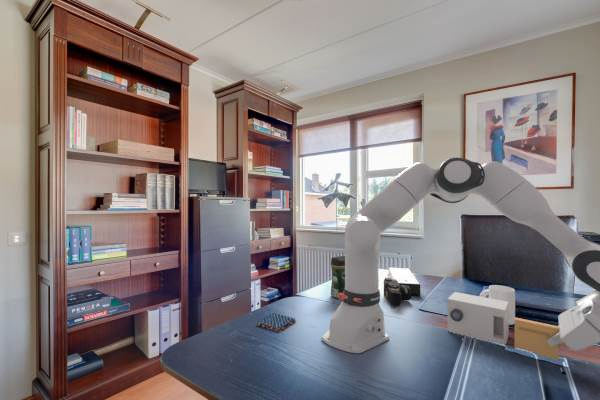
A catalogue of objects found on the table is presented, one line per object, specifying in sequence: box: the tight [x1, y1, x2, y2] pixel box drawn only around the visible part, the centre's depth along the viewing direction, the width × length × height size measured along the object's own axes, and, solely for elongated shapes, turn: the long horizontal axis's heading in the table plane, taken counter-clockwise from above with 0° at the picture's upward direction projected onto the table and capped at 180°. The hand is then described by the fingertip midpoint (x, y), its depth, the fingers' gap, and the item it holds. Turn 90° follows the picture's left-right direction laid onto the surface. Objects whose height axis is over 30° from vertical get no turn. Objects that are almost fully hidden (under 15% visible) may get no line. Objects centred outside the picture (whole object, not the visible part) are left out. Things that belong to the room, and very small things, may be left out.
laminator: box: [387, 267, 421, 297], centre depth 152 cm, size 34×12×6 cm, turn 168°
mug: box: [479, 284, 516, 326], centre depth 110 cm, size 8×12×12 cm
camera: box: [383, 276, 412, 309], centre depth 128 cm, size 16×10×10 cm, turn 178°
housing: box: [446, 291, 510, 345], centre depth 96 cm, size 12×16×11 cm
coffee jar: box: [330, 255, 345, 299], centre depth 135 cm, size 10×8×19 cm
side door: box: [514, 316, 560, 360], centre depth 82 cm, size 2×10×9 cm, turn 50°
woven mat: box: [257, 312, 297, 333], centre depth 104 cm, size 10×11×2 cm
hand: (548, 340), depth 80 cm, fingers closed on side door, 2 cm apart
